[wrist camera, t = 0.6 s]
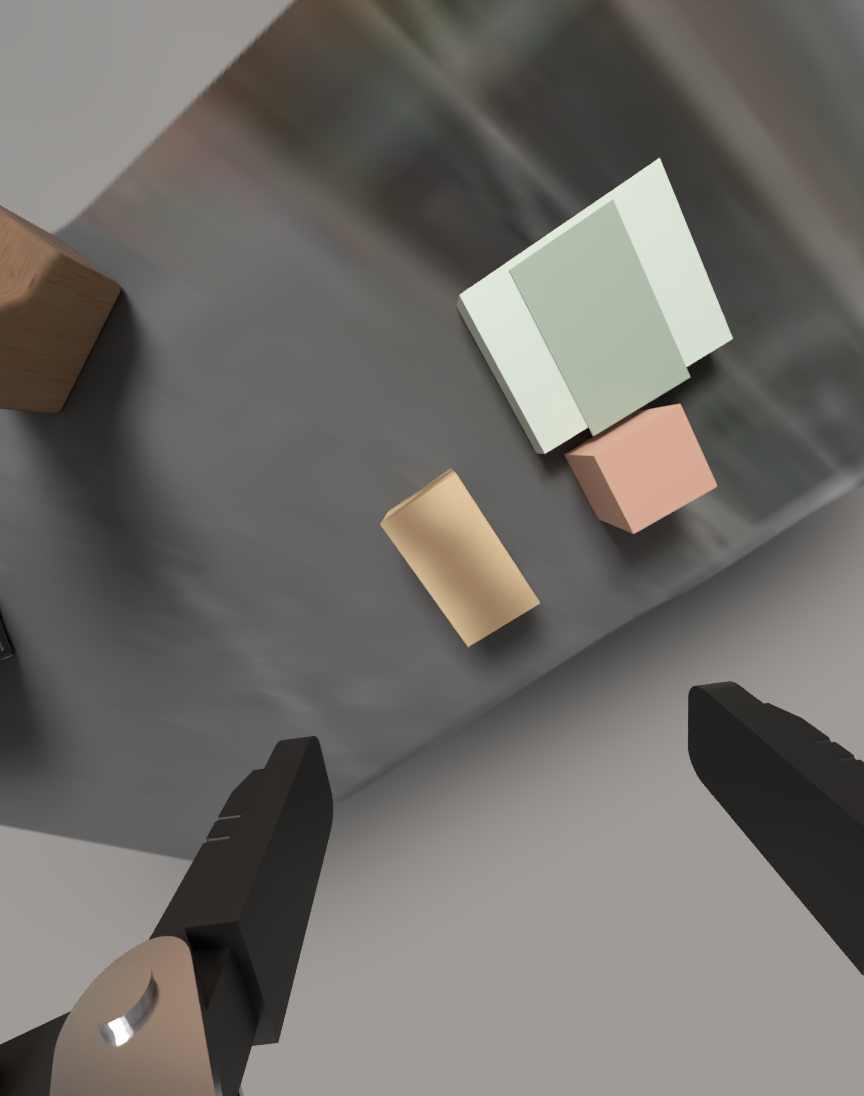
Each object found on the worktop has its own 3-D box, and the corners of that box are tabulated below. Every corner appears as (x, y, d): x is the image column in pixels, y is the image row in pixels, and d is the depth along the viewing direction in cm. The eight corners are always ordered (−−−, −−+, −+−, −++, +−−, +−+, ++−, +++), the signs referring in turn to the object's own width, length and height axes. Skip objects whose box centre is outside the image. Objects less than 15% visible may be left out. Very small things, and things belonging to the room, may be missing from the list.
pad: (640, 182, 23) (660, 156, 21) (713, 356, 25) (738, 348, 23) (456, 307, 24) (459, 294, 22) (540, 461, 27) (550, 462, 25)
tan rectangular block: (451, 468, 27) (455, 473, 22) (521, 576, 29) (540, 603, 24) (388, 510, 28) (380, 524, 23) (461, 614, 29) (468, 647, 25)
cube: (633, 411, 26) (680, 403, 21) (665, 479, 27) (717, 486, 22) (563, 454, 27) (593, 456, 22) (597, 518, 28) (633, 534, 23)
